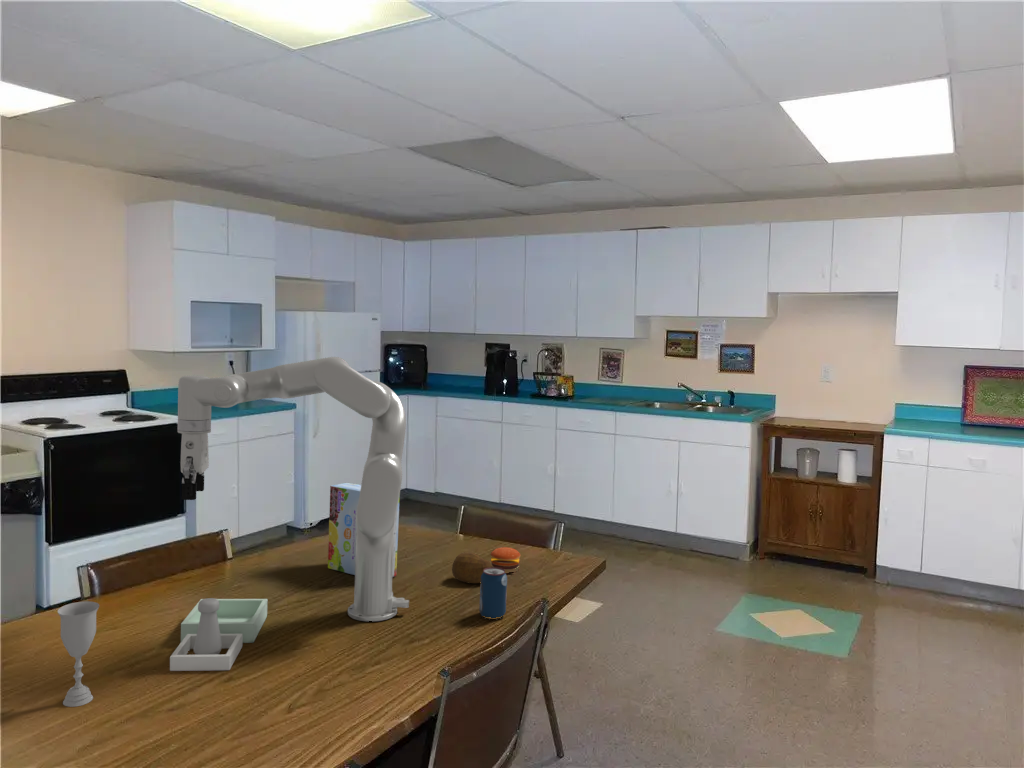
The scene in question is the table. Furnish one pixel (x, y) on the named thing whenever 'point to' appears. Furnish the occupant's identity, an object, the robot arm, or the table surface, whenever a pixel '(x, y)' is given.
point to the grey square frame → (205, 662)
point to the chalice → (78, 644)
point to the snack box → (348, 528)
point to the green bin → (232, 618)
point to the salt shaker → (208, 629)
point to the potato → (469, 567)
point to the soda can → (493, 592)
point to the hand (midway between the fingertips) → (193, 495)
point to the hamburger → (505, 558)
